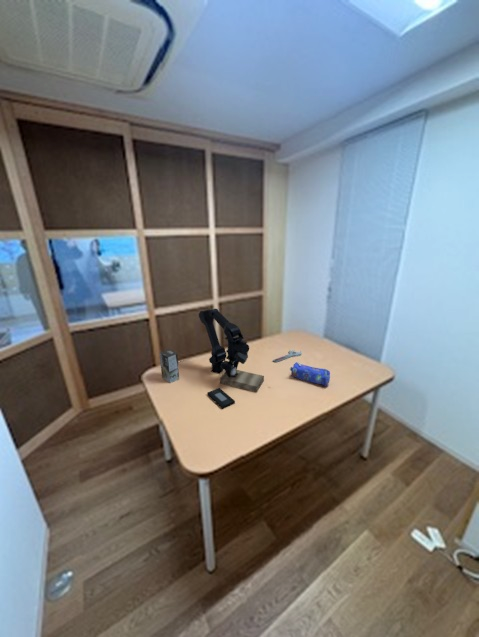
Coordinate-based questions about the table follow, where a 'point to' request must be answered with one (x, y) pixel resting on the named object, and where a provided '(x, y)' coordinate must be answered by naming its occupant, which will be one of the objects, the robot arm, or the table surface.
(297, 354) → the adjustable wrench
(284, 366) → the table surface
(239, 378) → the hitch block
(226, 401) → the vhs tape
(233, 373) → the steel peg
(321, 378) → the pencil case
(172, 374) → the coffee box
